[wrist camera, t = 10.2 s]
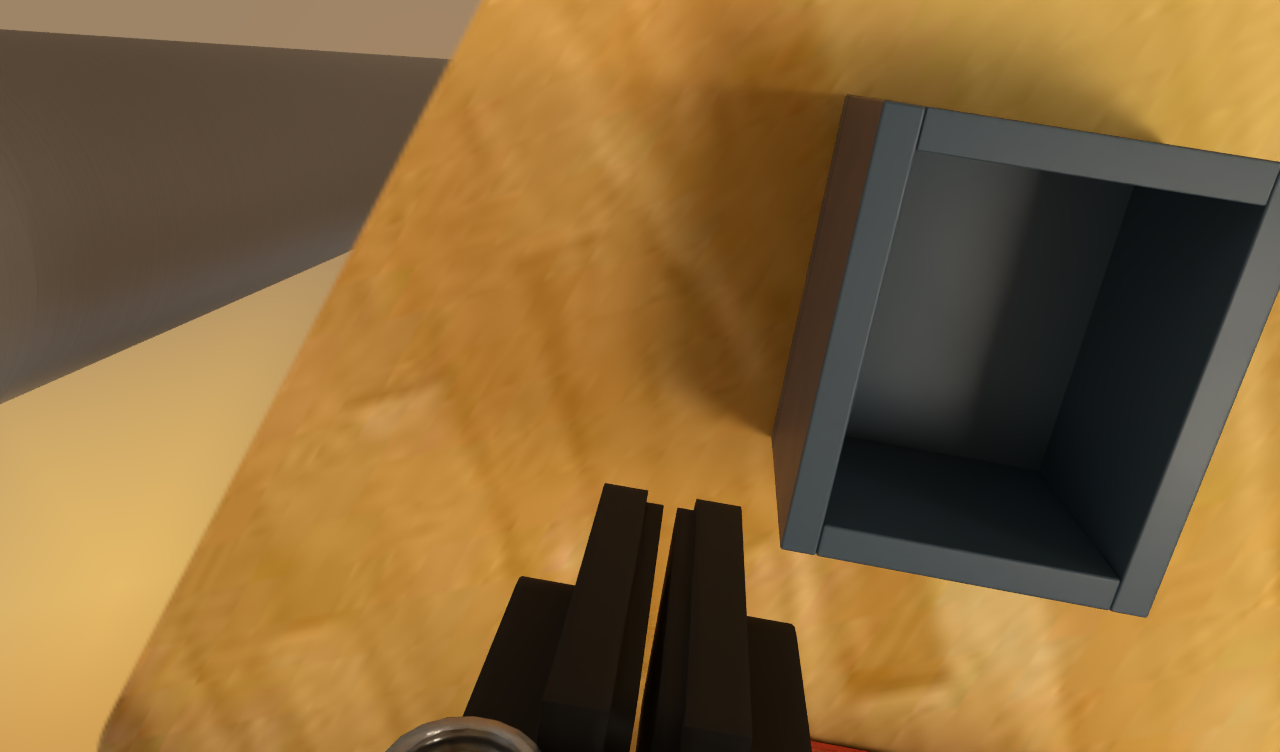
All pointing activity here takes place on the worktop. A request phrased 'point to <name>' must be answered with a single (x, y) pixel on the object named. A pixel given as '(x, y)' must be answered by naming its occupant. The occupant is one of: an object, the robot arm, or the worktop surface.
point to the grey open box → (1018, 350)
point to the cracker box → (831, 748)
